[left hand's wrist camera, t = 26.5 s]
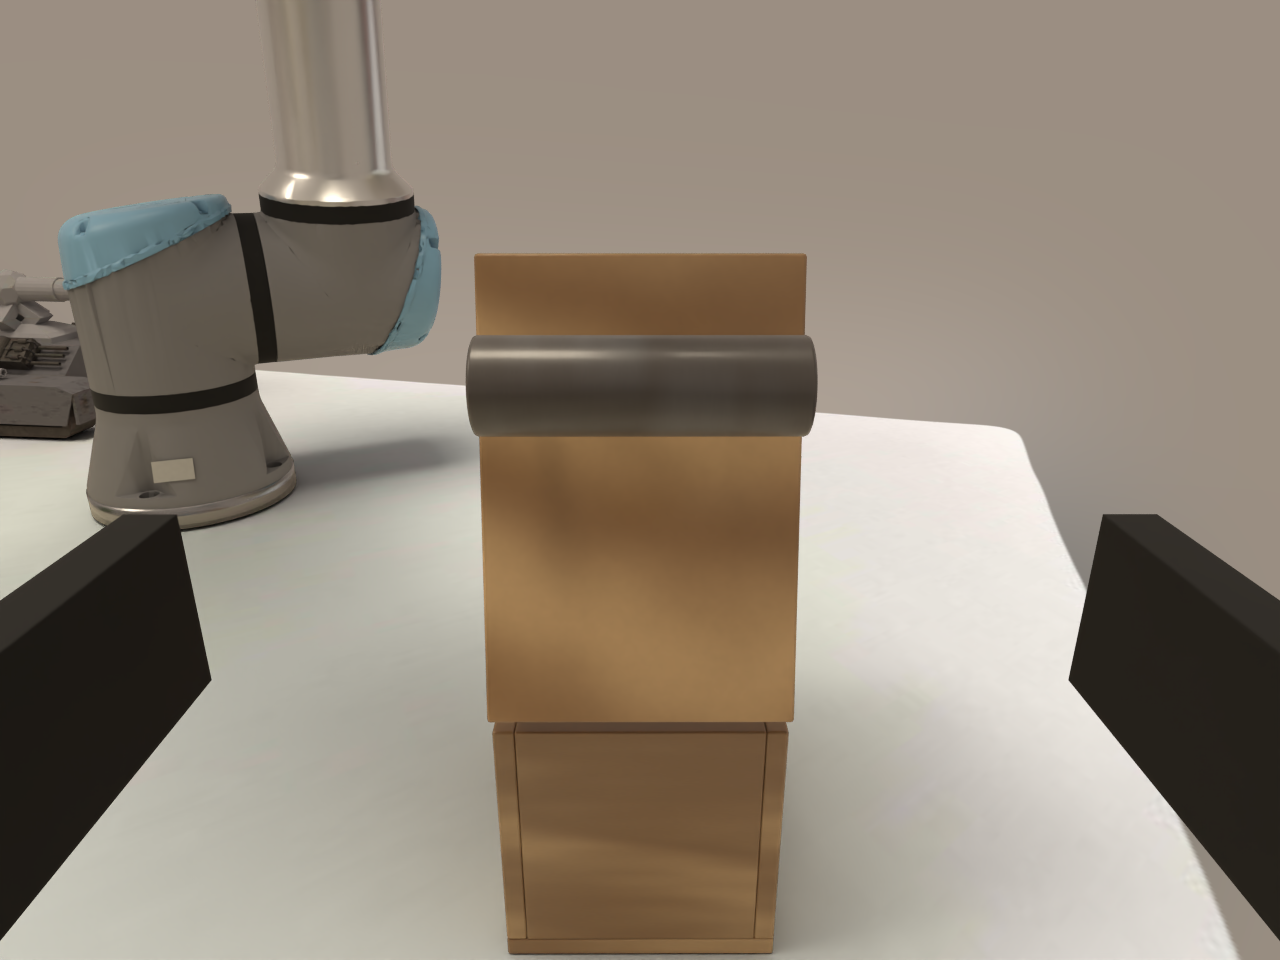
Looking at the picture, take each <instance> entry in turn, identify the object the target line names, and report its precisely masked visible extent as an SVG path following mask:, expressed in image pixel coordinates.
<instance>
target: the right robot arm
mask: <svg viewBox="0 0 1280 960" xmlns="http://www.w3.org/2000/svg"><path fill="white" fill-rule="evenodd" d="M255 3H256V10H257V18H258V26H259V34H260V41H261V49H262V57H263V65H264V73H265V80H266V88H267V96H268V104H269V111H270V119H271V127H272V134H273V142H274V150H275V158H276V163H275V167H274V169H273V170H272V171H271V172H270V173H269V175H268V176H267V177H266V178H265V179H264V180H263V181H262V182H261V184H260V185H259V187H258V191H259V192H258V193H259V199H260V207H261V212H257V213H230V212H231V205H230V204H229V203H228V201H227V199H226V197H224V196H223V195H221V194H210V195H201V196H192V197H181V198H174V199H166V200H159V201H152V202H146V203H139V204H133V205H126V206H120V207H115V208H109V209H104V210H98V211H93V212H88V213H84V214H80V215H77V216H74V217H72V218H70V219H69V220H67V221H66V222H65V223H64V224H63V225H62V227H61V228H60V231H59V234H58V245H59V251H60V257H61V263H62V269H63V275H64V281H63V283H62V285H63V288H64V290H67V291H68V295H69V299H70V304H71V308H72V312H73V316H74V320H75V325H76V329H77V333H78V337H79V341H80V346H81V350H82V355H83V359H84V364H85V368H86V373H87V377H88V382H89V386H90V389H91V394H92V398H93V403H94V407H95V412H96V425H95V432H94V439H93V446H92V453H91V460H90V467H89V474H88V481H87V490H86V493H87V497H88V501H89V506H90V510H91V513H92V516H93V517H94V518H95V519H96V520H97V521H99V522H100V523H102V524H105V525H109V524H110V523H111V522H113V521H114V520H116V519H117V518H119V517H120V516H121V515H123V514H177V517H178V522H179V526H180V529H185V528H193V527H199V526H205V525H211V524H215V523H220V522H224V521H228V520H232V519H236V518H239V517H243V516H246V515H249V514H252V513H254V512H257V511H260V510H262V509H264V508H267V507H269V506H271V505H273V504H275V503H277V502H278V501H280V500H281V499H283V498H284V497H286V496H287V495H288V494H289V493H290V492H291V491H292V490H293V489H294V487H295V485H296V474H295V468H294V461H293V459H292V457H291V454H290V453H289V451H288V449H287V447H286V445H285V443H284V441H283V440H282V438H281V436H280V434H279V432H278V430H277V428H276V426H275V425H274V423H273V421H272V419H271V417H270V415H269V413H268V412H267V410H266V408H265V406H264V404H263V402H262V400H261V398H260V395H259V390H258V385H257V379H256V373H255V365H256V364H259V363H269V362H281V361H291V360H302V359H312V358H322V357H332V356H344V355H357V354H368V355H377V354H379V353H381V352H384V351H390V350H396V349H404V348H410V347H413V346H416V345H418V344H419V343H421V342H422V341H423V340H424V339H425V337H426V336H427V335H428V333H429V331H430V329H431V328H432V326H433V323H434V320H435V317H436V313H437V309H438V303H439V296H440V286H441V254H440V251H439V250H438V242H439V237H438V231H437V227H436V224H435V221H434V219H433V217H432V215H431V214H430V213H429V212H428V211H427V210H425V209H422V208H421V207H419V206H414V192H413V188H412V186H411V185H410V184H408V182H407V181H405V180H404V179H403V178H402V177H401V176H400V175H399V174H398V173H397V172H396V171H395V169H394V167H393V165H392V153H391V139H390V125H389V110H388V95H387V81H386V66H385V52H384V37H383V23H382V8H381V0H255Z"/></svg>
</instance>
